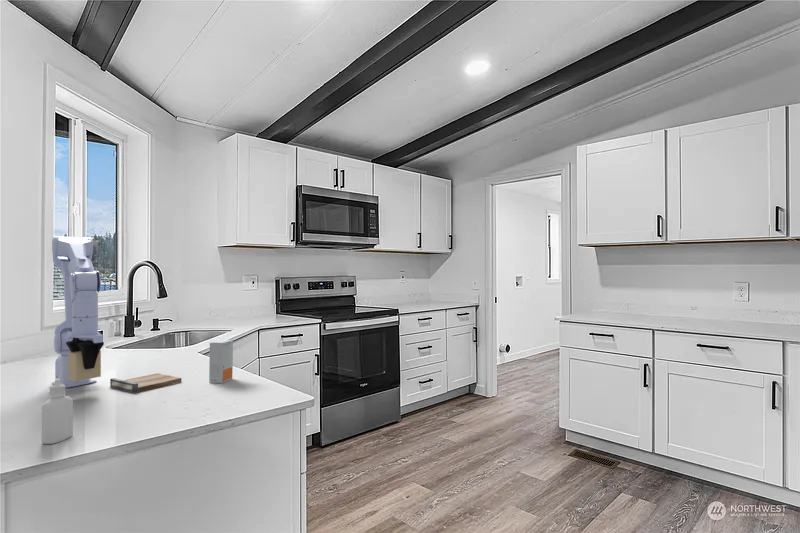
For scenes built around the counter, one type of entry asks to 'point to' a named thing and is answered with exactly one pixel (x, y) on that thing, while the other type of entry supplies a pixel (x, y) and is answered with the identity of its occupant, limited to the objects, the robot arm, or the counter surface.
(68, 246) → the robot arm
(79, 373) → the box
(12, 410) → the counter surface
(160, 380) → the tan tray
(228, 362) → the skincare box
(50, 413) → the eye dropper bottle
